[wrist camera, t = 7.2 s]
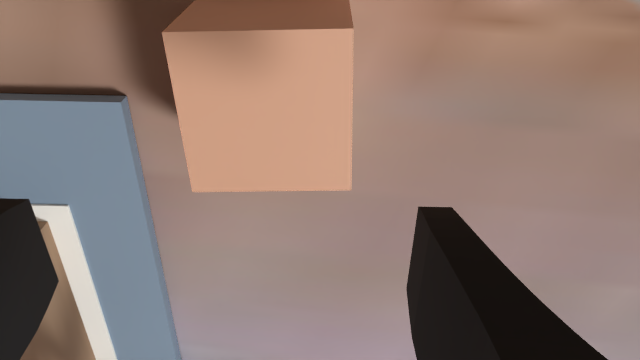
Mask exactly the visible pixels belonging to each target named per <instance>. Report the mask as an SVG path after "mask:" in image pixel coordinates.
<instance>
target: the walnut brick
mask: <svg viewBox="0 0 640 360" xmlns="http://www.w3.org/2000/svg"><path fill="white" fill-rule="evenodd" d="M37 222H38V225H39V228H40V230H41V233H42V236H43V239H44V241H45V244H46V247H47V250H48V252H49V255H50V258H51V260H52V263H53V266H54V269H55V271H56V274H57V277H58V280H59V282H58V284H57V287H56V289H55V292H54V294H53V297H52V299H51V302H50V304H49V306H48V309H47V311H46V313H45V315H44V317H43V320H42V322H41V324H40V326H39V328H38V330H37V332H36V334H35V335H34V337H33V339H32V340H31V342H30V344H29V345H28V347H27V349H26V350H25V352H24V354H23V355H22V357H21V359H20V360H96V358H95V355H94V353H93V350H92V347H91V344H90V341H89V338H88V335H87V333H86V330H85V327H84V324H83V321H82V318H81V315H80V312H79V310H78V307H77V304H76V301H75V298H74V295H73V292H72V290H71V287H70V284H69V281H68V278H67V275H66V272H65V269H64V267H63V264H62V261H61V258H60V255H59V252H58V249H57V246H56V244H55V241H54V238H53V235H52V232H51V229H50V226H49V224H48V221H37Z"/></svg>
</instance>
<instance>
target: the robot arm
mask: <svg viewBox="0 0 640 360" xmlns="http://www.w3.org/2000/svg"><path fill="white" fill-rule="evenodd" d="M58 282H59V280H58V277H57V274H56V271H55V269H54V266H53V263H52V260H51V258H50V255H49V252H48V250H47V247H46V244H45V241H44V239H43V236H42V233H41V230H40V228H39V225H38V222H37V219H36V217H35V214H34V211H33V209H32V206H31V203H30V200H29V199H6V198H0V360H20V359H21V357H22V355H23V354H24V352H25V350H26V349H27V347H28V345H29V344H30V342H31V340H32V339H33V337H34V335H35V334H36V332H37V330H38V328H39V326H40V324H41V322H42V320H43V317H44V315H45V313H46V311H47V309H48V306H49V304H50V302H51V299H52V297H53V294H54V292H55V289H56V287H57V284H58ZM407 297H408V307H409V316H410V324H411V333H412V339H413V344H414V348H415V353H416V357H417V360H608V359H606V358H605V357H604V356H603V355H601V354H600V353H599V352H598V351H596V350H595V349H594V348H593V347H592V346H591V345H589V344H588V343H587V342H586V341H585V340H583V339H582V338H581V337H580V336H579V335H578V334H576V333H575V332H574V331H573V330H572V329H571V328H570V327H569V326H568V325H566V324H565V323H564V322H563V321H562V320H561V319H560V318H559V317H558V316H557V315H555V314H554V313H553V312H552V311H551V310H550V309H549V308H548V307H547V306H546V305H544V304H543V303H542V302H541V301H540V300H539V299H538V298H537V297H536V296H535V295H534V294H533V293H532V292H531V291H530V290H529V289H528V288H527V287H526V286H525V285H524V284H523V283H522V282H521V281H520V280H519V279H518V278H517V277H516V276H515V275H514V274H513V273H512V272H511V271H510V270H509V269H508V268H507V267H506V266H505V265H504V264H503V263H502V262H501V261H500V260H499V258H498V257H497V256H496V255H495V254H494V253H493V252H492V251H491V250H490V249H489V248H488V247H487V246H486V244H485V243H484V242H483V241H482V240H481V239H480V238H479V237H478V236H477V235H476V233H475V232H474V231H473V230H472V229H471V228H470V227H469V226H468V225H467V224H466V222H465V221H464V220H463V219H462V218H461V217H460V216H459V215H458V214H457V213H456V211H455V210H454V209H453V208H452V207H418V213H417V220H416V227H415V234H414V241H413V248H412V254H411V261H410V268H409V275H408V282H407Z"/></svg>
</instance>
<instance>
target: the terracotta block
mask: <svg viewBox="0 0 640 360" xmlns="http://www.w3.org/2000/svg"><path fill="white" fill-rule="evenodd" d="M353 30H354V28H353V22H352V16H351V10H350V4H349V0H195V1H194V2H193V3H191V4H190V5H189V6H188V7H187V8H186V9H185V10H184V11H183V12H182V13H181V14H180V15H179V16H178V17H177V18H176V19H175V20H174V21H173V22H172V23H171V24H170V25H169V26H168V27H167V28H166V29H165V30H163V31H162V36H163V41H164V47H165V52H166V57H167V62H168V68H169V73H170V78H171V83H172V88H173V94H174V99H175V104H176V109H177V114H178V120H179V125H180V130H181V135H182V140H183V146H184V151H185V156H186V161H187V167H188V172H189V177H190V182H191V187H192V192H244V191H330V190H351V185H352V107H353Z"/></svg>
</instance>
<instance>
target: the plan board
mask: <svg viewBox="0 0 640 360" xmlns="http://www.w3.org/2000/svg"><path fill="white" fill-rule="evenodd" d="M0 198H6V199H29V200H30V203H31V206H32V209H33V211H34V214H35V217H36V219H37V221H48V224H49V226H50V229H51V232H52V235H53V238H54V241H55V244H56V246H57V249H58V252H59V255H60V258H61V261H62V264H63V267H64V269H65V272H66V275H67V278H68V281H69V284H70V287H71V290H72V292H73V295H74V298H75V301H76V304H77V307H78V310H79V312H80V315H81V318H82V321H83V324H84V327H85V330H86V333H87V335H88V338H89V341H90V344H91V347H92V350H93V353H94V355H95V358H96V360H181V356H180V351H179V346H178V341H177V336H176V331H175V327H174V322H173V317H172V312H171V307H170V302H169V298H168V293H167V288H166V283H165V278H164V274H163V269H162V264H161V259H160V254H159V249H158V245H157V240H156V235H155V230H154V225H153V220H152V216H151V211H150V206H149V201H148V196H147V192H146V187H145V182H144V177H143V172H142V167H141V163H140V158H139V153H138V148H137V143H136V139H135V134H134V129H133V124H132V119H131V114H130V110H129V105H128V100H127V96H108V95H58V94H9V93H0Z"/></svg>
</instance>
